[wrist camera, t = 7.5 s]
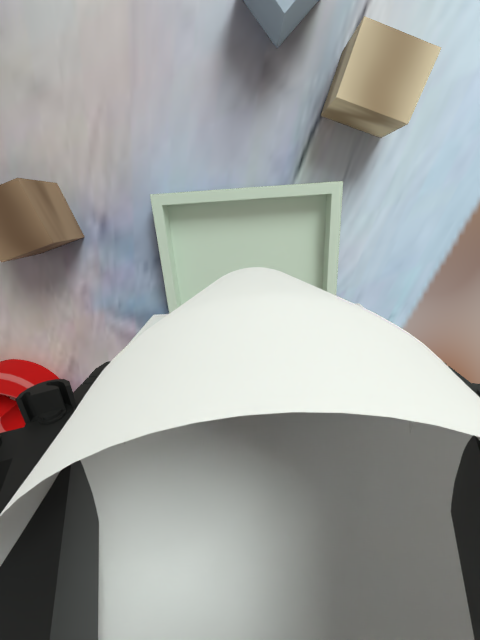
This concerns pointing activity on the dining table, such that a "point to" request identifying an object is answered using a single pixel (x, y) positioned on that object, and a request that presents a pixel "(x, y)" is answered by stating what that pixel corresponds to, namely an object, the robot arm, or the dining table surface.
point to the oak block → (379, 79)
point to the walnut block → (34, 219)
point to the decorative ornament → (17, 389)
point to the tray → (248, 235)
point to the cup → (270, 473)
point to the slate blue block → (279, 16)
